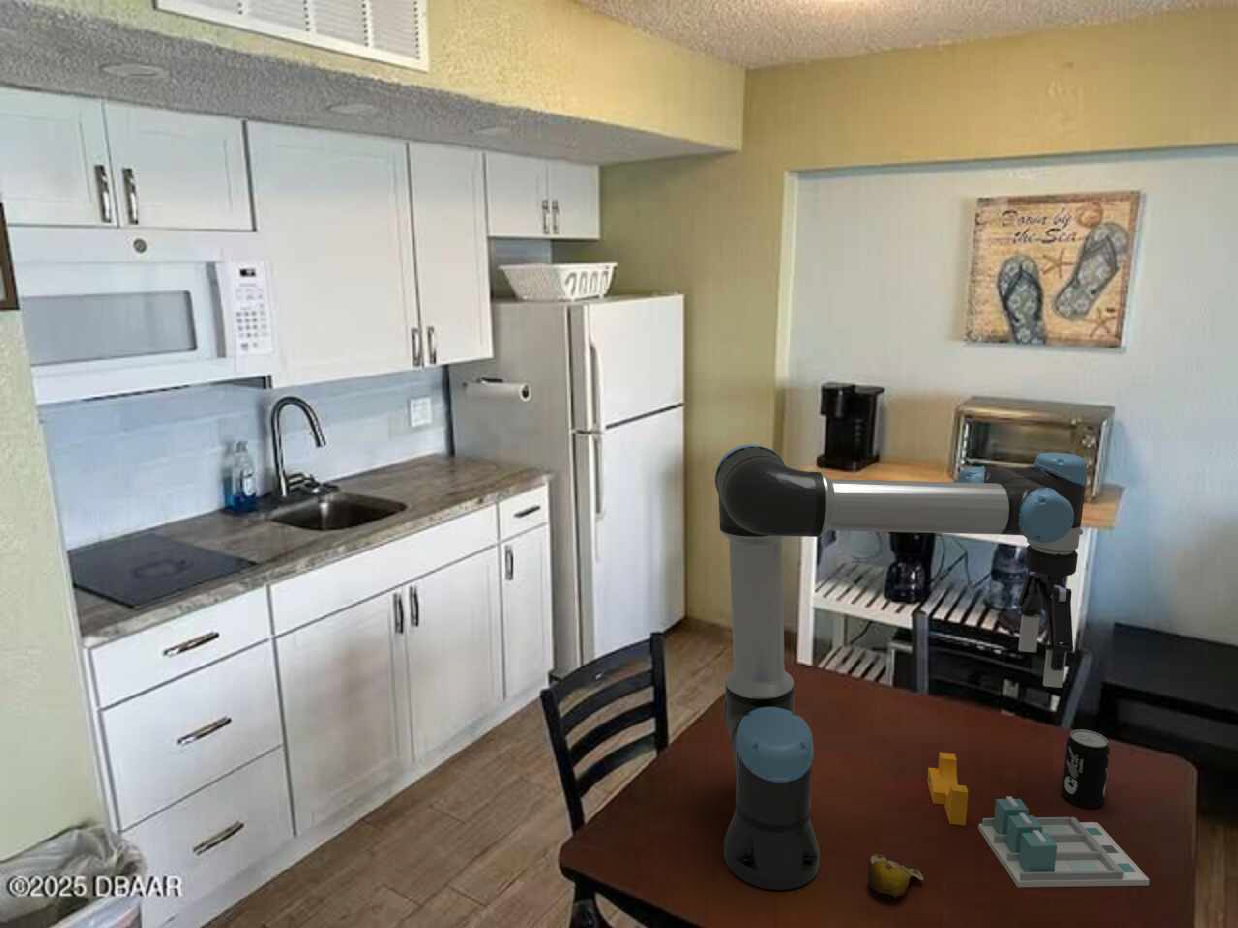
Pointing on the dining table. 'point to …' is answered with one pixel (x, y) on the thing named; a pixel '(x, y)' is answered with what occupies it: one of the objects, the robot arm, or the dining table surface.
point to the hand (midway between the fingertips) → (1039, 667)
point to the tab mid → (1020, 829)
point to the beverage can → (1085, 768)
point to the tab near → (1037, 852)
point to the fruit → (890, 876)
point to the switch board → (1070, 856)
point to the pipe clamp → (948, 789)
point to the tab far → (1007, 812)
